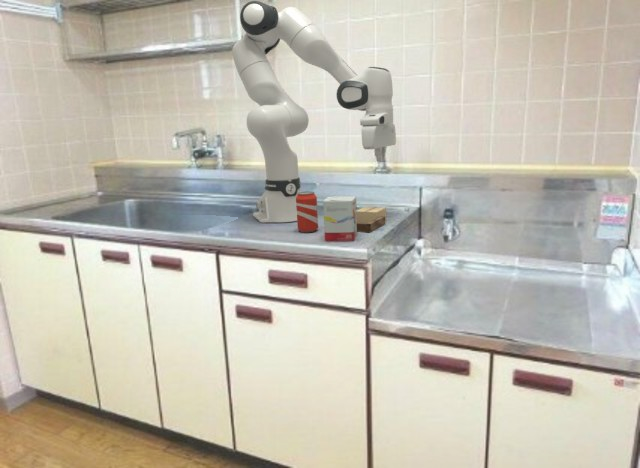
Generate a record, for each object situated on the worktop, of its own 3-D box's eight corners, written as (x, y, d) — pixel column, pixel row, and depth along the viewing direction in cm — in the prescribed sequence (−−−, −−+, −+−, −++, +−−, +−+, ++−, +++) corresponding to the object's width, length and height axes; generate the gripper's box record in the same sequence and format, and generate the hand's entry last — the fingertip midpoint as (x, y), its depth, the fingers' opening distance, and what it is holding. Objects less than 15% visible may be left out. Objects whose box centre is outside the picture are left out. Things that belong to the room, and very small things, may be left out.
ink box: (354, 241, 140) (352, 199, 137) (324, 241, 142) (322, 200, 139) (358, 234, 148) (356, 194, 145) (329, 234, 150) (327, 195, 147)
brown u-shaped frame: (351, 221, 165) (351, 214, 164) (385, 224, 159) (385, 216, 158) (334, 230, 155) (333, 222, 154) (369, 232, 149) (369, 224, 148)
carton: (365, 219, 168) (365, 206, 167) (386, 221, 165) (386, 207, 164) (355, 224, 162) (354, 211, 160) (376, 226, 158) (376, 212, 157)
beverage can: (322, 230, 155) (320, 192, 152) (305, 234, 151) (303, 194, 149) (310, 227, 160) (308, 190, 157) (294, 231, 156) (291, 193, 153)
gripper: (382, 118, 173) (383, 158, 176) (357, 120, 156) (359, 164, 159) (400, 117, 170) (400, 158, 173) (376, 119, 153) (377, 164, 156)
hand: (380, 161), depth 166 cm, fingers closed
